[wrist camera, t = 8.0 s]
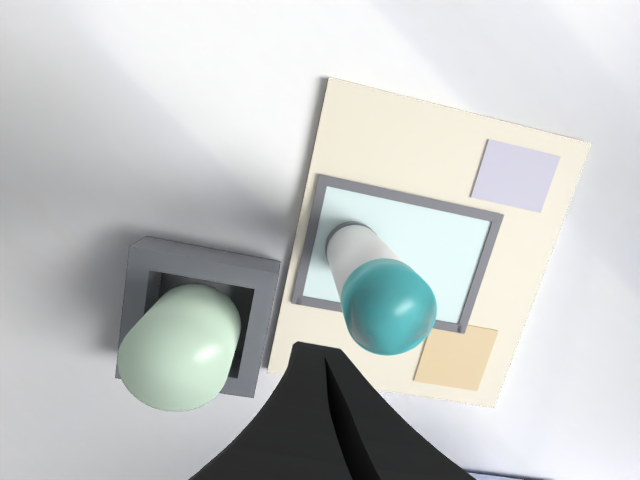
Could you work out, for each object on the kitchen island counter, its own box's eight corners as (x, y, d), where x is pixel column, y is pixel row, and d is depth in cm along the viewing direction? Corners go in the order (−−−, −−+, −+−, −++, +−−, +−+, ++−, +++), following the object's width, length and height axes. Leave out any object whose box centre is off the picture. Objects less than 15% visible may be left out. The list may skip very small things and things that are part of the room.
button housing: (257, 375, 21) (253, 397, 19) (132, 356, 20) (115, 378, 18) (280, 261, 20) (278, 273, 18) (146, 236, 19) (129, 246, 17)
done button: (233, 370, 19) (220, 418, 15) (146, 357, 18) (112, 403, 15) (248, 292, 18) (237, 324, 14) (156, 275, 17) (123, 305, 14)
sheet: (490, 403, 23) (495, 410, 22) (267, 369, 21) (266, 375, 20) (586, 143, 19) (595, 143, 19) (328, 78, 18) (329, 76, 17)
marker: (371, 278, 20) (422, 361, 12) (319, 268, 19) (336, 348, 11) (384, 226, 19) (447, 278, 11) (330, 215, 19) (357, 262, 11)
